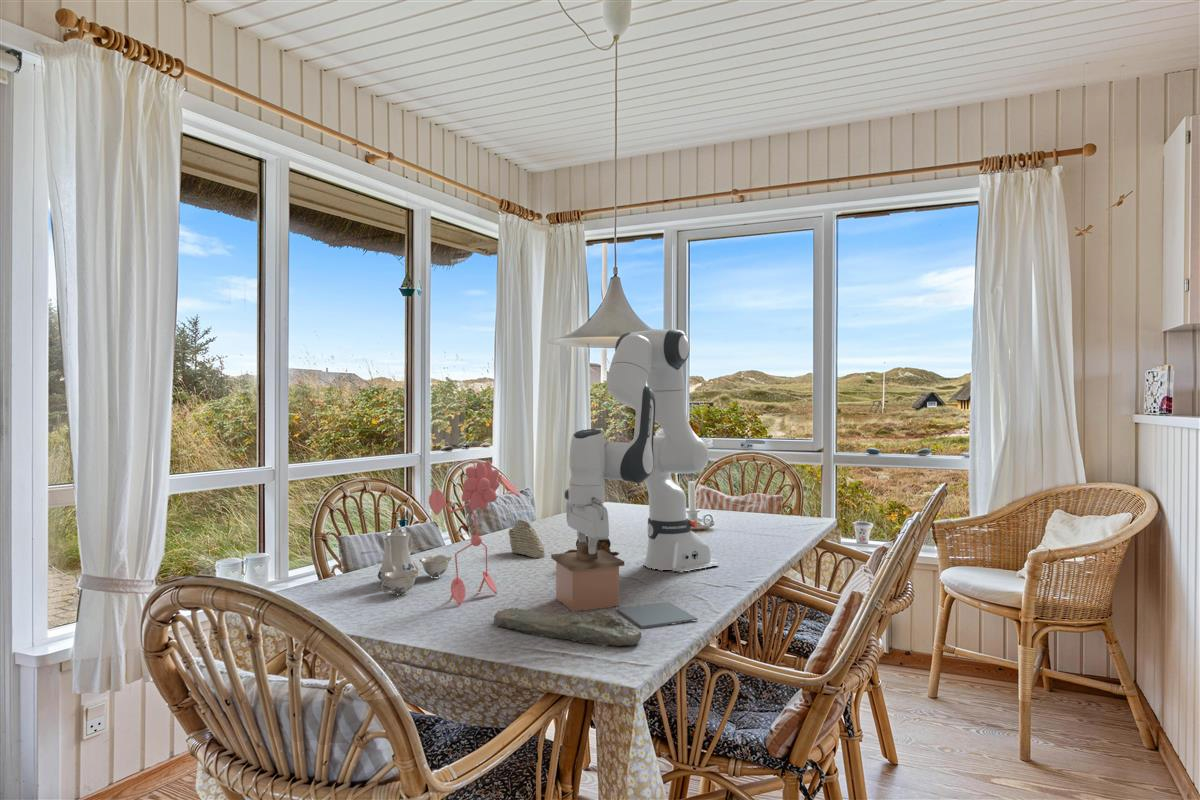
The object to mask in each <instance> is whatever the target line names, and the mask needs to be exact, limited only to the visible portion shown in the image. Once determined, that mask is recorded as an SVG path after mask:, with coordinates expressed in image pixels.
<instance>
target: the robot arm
mask: <svg viewBox="0 0 1200 800" xmlns="http://www.w3.org/2000/svg"><path fill="white" fill-rule="evenodd" d="M685 333H686V332H684V331H683V330H681V329H675V328H670V329H661V328H660V329H659V328H658V329H657V328H653V329H649V330H646V329H645V330H641V331H640V330H639V331H635V332H634V331H629V332H626V333H622V334H621V335H620V336H619V337H618V339H617V341H616V343H615V347H614V350H615V351H614V354H613V356H612V358H611V362H610V365H609V369H608V372H607V378H606V387H607V390H608V392H609V394H610V395H611V397H613V399H615V400H616V401H617V402H618V403H620V404H622V405H624V406H626V407H629V408H631V409H632V410H634V411H635V420H634V421H635V422H634V430H633V431H634V432H633V439H632V440H630V441H628V442H620V441H618V442H617V441H609V440H607V439H606V438H604V435H603V431H601V430H600V429H594V428H588V429H582V430H578V431H576V432H575V433H573V435H572V437H571V440H570V446H569V461H568V462H569V464H568V465H569V470H570V479H569V487H568V488H567V489H566V490H564V492H563V493H564V494H563V497H564V499H565V514H566V515H565V517H566V522H567V525H568V527H569V528H571V529H573V530H576V536H577V539H578V540H579V543H580V542H587V541H586V536H588V540H589V542H588V546H587V553H589V554H595V553H596V545H597V542H598V540H603V539H608V538H609V536H610V523H609V521H610V519H609V512H608V510H607V508H606V507H605V505H604V504H605V503H606V481H605V480H606V479H607V480H611V481H612V480H615V481H616V480H617V481H624V482H629V483H635V484H641V483H643V482H644V484H645V486H646V489H647V494H648V511H649V512H648V513H649V514H648V516H649V517H648V518H647V538H648V540H647V548H646V553H645V558H644V562H643V566H644V567H645V566H646V568H648V569H651V568H652V570H655V569H658V570H657V571H663V570H674V571H685V570H690V569H695V568H699V567H704V566H708V565H714V564H717V563H718V564H719V561H718V560H717V559H715V558H712V556H711V549H710V547H709V544H708V543H707V542H706V540H704V539H702V538H701V536H698V535H697V534H696V533H695V532H693V531H692V528H697V527H698V525H699V523H698V521H697V520H693V519H692V520H691V519H689V518H687V495H686V492H685V490H684V489H683V488H681V486H679V485H677V484H676V483H675V482H674V480H673V479H672V476H671V474H680V475H682V474H683V475H689V474H695V473H701V472H703V471H704V469H705V468H706V467H707V466H708V463H709V459H710V451H709V448H708V445H707V443H705V441H704V440H703V439H701V438H700V437H699V435H697V434H696V432H695V431H694V430H693V428H692V427H691V424H690V422H689V420H688V416H687V410H686V409H687V407H686V395H685V394H686V393H685V392H686V391H685V378H684V377H685V375H684V370H683V365H684V364H685V363H686V361H688V360H687V359H688V358H689V356H690V342H689V337H688V336H687V335H686V334H685ZM655 423H656V424H657V425H659V426H660V428H661V430H662V431H663V434H664V435H655ZM713 561H717V562H713ZM674 571H673V572H674Z"/></svg>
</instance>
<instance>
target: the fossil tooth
mask: <svg viewBox="0 0 1200 800" xmlns="http://www.w3.org/2000/svg"><path fill="white" fill-rule="evenodd" d="M507 533H508V537H509V544H510V548H511V552H512V553H514V554H520V555H525V556H527V557H532V558H534V559H537V558H539V559H542V558H544V557H545V554H546V553H545V548H544V547H545V546H544V545H543V542H542V541H541V539H540V537H539V535H538V533H537V531H536V530H535V528H534V527H533V526H532V524H530V522H529V521H528V519H525V518H518V520H517V521H516V522H515V524H514V526H511V528H509V530H508V532H507Z"/></svg>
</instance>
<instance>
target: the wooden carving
mask: <svg viewBox="0 0 1200 800" xmlns="http://www.w3.org/2000/svg"><path fill="white" fill-rule="evenodd" d="M586 541H587V542H589V540H588V536H587V535H586ZM577 543H579V540H578V538H577V539H576V542H575V546H576V547H577ZM597 545H598V550H604V551H606V552H608V553H609V554H611V555H613V556H615V557H616V556H619V555H620V552H618V551H611V545H612V544H611V540H610V538H609V537H608V538H607V539H603V540H598V542H597ZM571 552H577V549H568V550H566V551H564V552H563V553H571Z"/></svg>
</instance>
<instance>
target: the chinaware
mask: <svg viewBox="0 0 1200 800" xmlns="http://www.w3.org/2000/svg"><path fill="white" fill-rule="evenodd" d="M385 536H386V538H384V542H385V548H384V552H383V558H382V562H381V566H380V568H379V570H378V573H377V578H378V580H380V582H382V583H381V588H380V589H381V590H382V592H383V593H389V592H390V594H391V595H395V594H398V595H397V596H401V595H400V594H405V593H407V592H408V591H409V590H410V589H412V588H413V586H414V585H415V582H416V579H417V577H418V575H419V573H418V572H419V569H418V566H417V565H416V563H415V562H414V560H413V558H412V556H411V553H412V551H413V548H414V538H413V536H412V534H411V532H409V531H405V530H404V528H402V526H401V525H400V523H397V524H396V525H395V528H393V529H392V530H391V531H390V532H388V533H386V534H385ZM452 558H453V557H452V556H445V555H443V554H438V555H435V556H429V555H428V556H427V555H426V556H424V557H422V559H419V563H421V564H422V567H423V570H424V572H425V573H426V574H428V575H429V576H432V577H439V575H441V576H442V575H443V574H444V573H446V571H447V570H448V568H449V564H450V562H451V560H452ZM383 585H384V586H383ZM386 586H387V588H390V589H388V590H387V591H385V590H384V587H386ZM407 594H408V593H407Z"/></svg>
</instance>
